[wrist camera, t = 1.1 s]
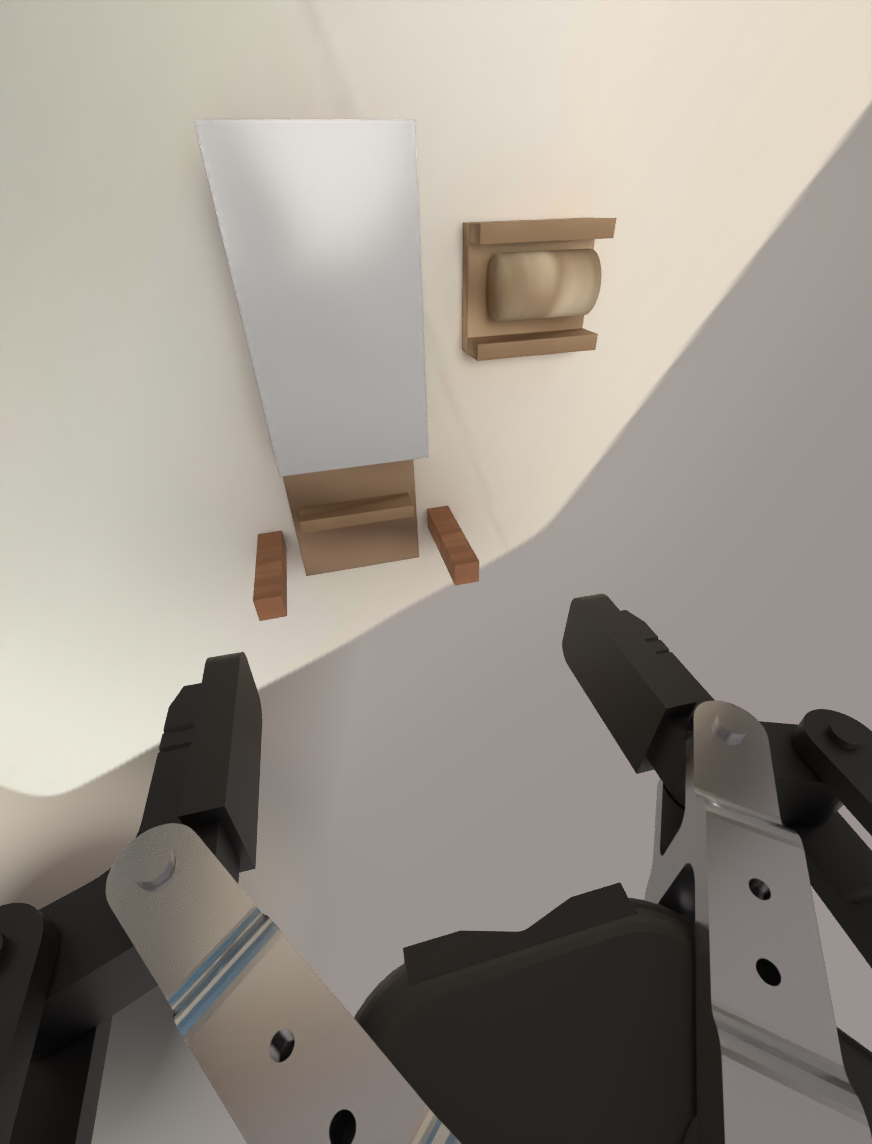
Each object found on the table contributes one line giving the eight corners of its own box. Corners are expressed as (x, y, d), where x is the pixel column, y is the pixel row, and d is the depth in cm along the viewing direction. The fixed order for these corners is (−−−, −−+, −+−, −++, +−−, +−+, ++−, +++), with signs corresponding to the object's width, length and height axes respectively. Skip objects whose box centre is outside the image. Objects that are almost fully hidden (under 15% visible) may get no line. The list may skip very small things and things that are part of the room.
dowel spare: (485, 258, 25) (506, 248, 22) (573, 253, 26) (603, 243, 23) (486, 323, 26) (506, 320, 24) (570, 316, 27) (598, 313, 25)
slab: (205, 132, 17) (193, 119, 15) (398, 131, 18) (415, 119, 16) (280, 451, 24) (279, 476, 22) (415, 435, 26) (428, 457, 23)
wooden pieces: (139, 130, 20) (84, 99, 14) (599, 129, 24) (694, 104, 18) (269, 573, 34) (267, 642, 28) (547, 528, 38) (592, 581, 32)
